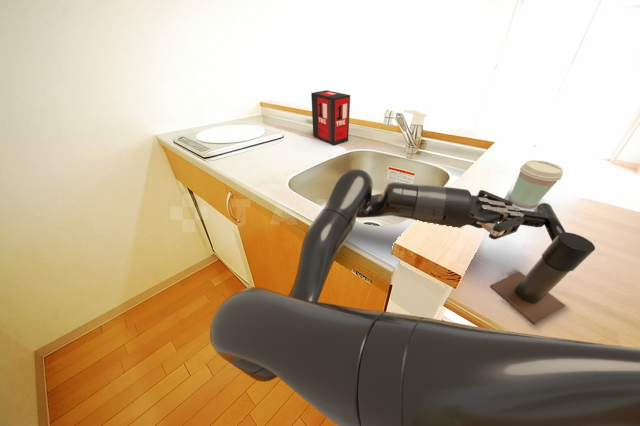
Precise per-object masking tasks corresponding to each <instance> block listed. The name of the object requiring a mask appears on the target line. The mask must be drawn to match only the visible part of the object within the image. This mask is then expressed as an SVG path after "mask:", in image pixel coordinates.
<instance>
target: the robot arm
mask: <svg viewBox="0 0 640 426" xmlns="http://www.w3.org/2000/svg"><path fill="white" fill-rule="evenodd" d="M373 187H374V183H373V179H372V176H371V174H370V173H368V172H367V170H364V169H361V168H352V169H348V170H346V171H345V172H344V173H342V174H341V175H340V176H339V177H338V179H337V181H336V182H335V184H334V185H333V187H332V190H331V192H330V194H329V196H328V198H327V201H326V203H325V206H324V207H323V208H322V210H320V212H319V213H318V215H317V216H316V217H315V219H314V220H313V222H312V223H311V224H310V225H309V226H308V228H307V231H306V233H305V235H304V236H303V237H304V238H303V240H302V244H301V248H300V253H299V260H298V265H297V270H296V275H295V278H294V282H293V284H292V287H291V289H290V292H289V293H288V295H287V294H284V293H280V292H277V291H274V290H272V289H270V288H269V289H268V288H265V287H263V286H262V287H261V286H250V287H247V288H243V289H241V290H238V291H237V292H234V293H233V294H232V295H230V296H228V297H226V299H225V300H224V301H222V303H221V304H220V305H219V306H218V308H217V310H216V311H215V312H214V315H213V317H212V319H211V323H210V327H209V339H210V343H211V346H212V348H213V350H214V351H215V353H217V355H218V356H219V357H220V358H222V359H223V360H224V361H226V362H227V363H229V364H231V365H232V366H234V367H235V368H237V369H238V370H240V371H241V372H242V373H244V374H245V375H247V376H248V377H250V378H252V379H253V380H255V381H257V382H261V383H264V382H265V383H266V382H271V381H273V380H274V379H277V378H279V379H280V380H281V381H282V382H283V383H284V384H286V385H287V386H288V387H289V389H291V390H293V391H294V392H295V393H296V394H297V395H298V396H300V397H301V398H302V399H304V400H305V401H306V402H307V403H308V404H310V405H311V406H312V407H313V408H314V409H316V411H318V412H319V413H321V414H322V415H323V416H325V417H326V418H327V419H328V420H330V421H331V422H333V423H334V424H335V425H337V426H640V347H634V346H627V345H619V344H618V345H617V344H610V343H601V342H592V341H584V340H576V339H570V338H569V339H568V338H560V337H553V336H546V335H545V336H544V335H538V334H531V333H525V332H517V331H511V330H503V329H495V328H489V327H482V326H475V325H471V324H464V323H458V322H455V321H454V322H453V321H447V320H442V319H436V318H431V317H425V316H419V315H412V314H406V313H400V312H392V311H384V310H383V311H382V310H374V309H373V310H372V309H366V308H358V307H352V306H346V305H340V304H334V303H328V302H322V301H321V302H320V301H319V299H320V297H321V294H322V291H323V289H324V286H325V284H326V282H327V279H328V276H329V274H330V272H331V269H332V267H333V265H334V262H335V261H336V259H337V257H338V255H339V253H340V251H341V249H342V248H343V246H344V245H345V243H346V242H347V240H348V238H349V237H350V235H351V233H352V231H353V230H354V227H355V224H356V220H357V218H358V219H364V218H365V219H366V218H367V219H368V218H381V217H396V218H401V219H408V220H414V221H417V220H419V221H418V222H420V221H422V222H421V223H424V222H427V223H426V224H430V223H433V224H432V225H436V224H439V225H438V226H443V225H446V226H445V227H449V226H452V227H451V228H455V227H458V228H457V229H462V228H463V227H465V226H471V227H473V228H476V229H483V230H485V231H486V232H488V233H489V234H488V237H489V239H491V240H498V239H500V238H503V237H506V236H509V235H511V234H514V233H517V231H518V230H519V228H520V226H526V227H534V228H542V227H545V225H544V224H545V223H546V222H547V220H548V218H547V217H546V216H545V214H544V213H540V212H534V210H526V209H521V208H520V207H519V206H514V205H513V204H514V203H512V202H511V201H510V200H508V199H506V198H504V197H501V196H499V195H496V194H493V193H491V192H489V191H486V190H484V189H480V190H479V191H478V193H477V194H476V195H473V194H472V193H471V192H470V190H468V189H465V188H457V187H450V186H441V185H434V184H433V185H432V184H414V183H406V182H398V181H392V182H389V183H387V185H386V186H385V187H384V190H383V192H382V193H375V194H373Z"/></svg>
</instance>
